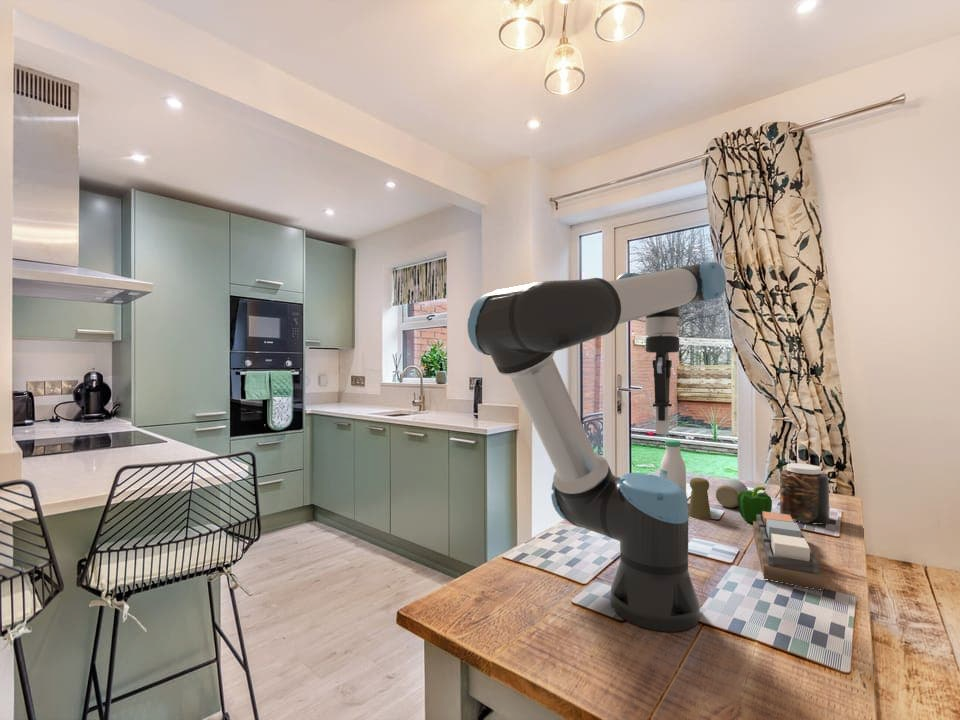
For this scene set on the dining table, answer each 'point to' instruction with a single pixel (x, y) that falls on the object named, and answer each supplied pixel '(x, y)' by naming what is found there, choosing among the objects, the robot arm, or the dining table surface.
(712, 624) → the dining table surface
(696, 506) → the pepper mill
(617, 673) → the dining table surface
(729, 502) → the ceramic mug
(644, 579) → the robot arm
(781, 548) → the cream block
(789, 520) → the terracotta block
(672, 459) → the milk bottle
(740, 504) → the bell pepper
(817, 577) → the block tray
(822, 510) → the jar
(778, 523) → the slate block
